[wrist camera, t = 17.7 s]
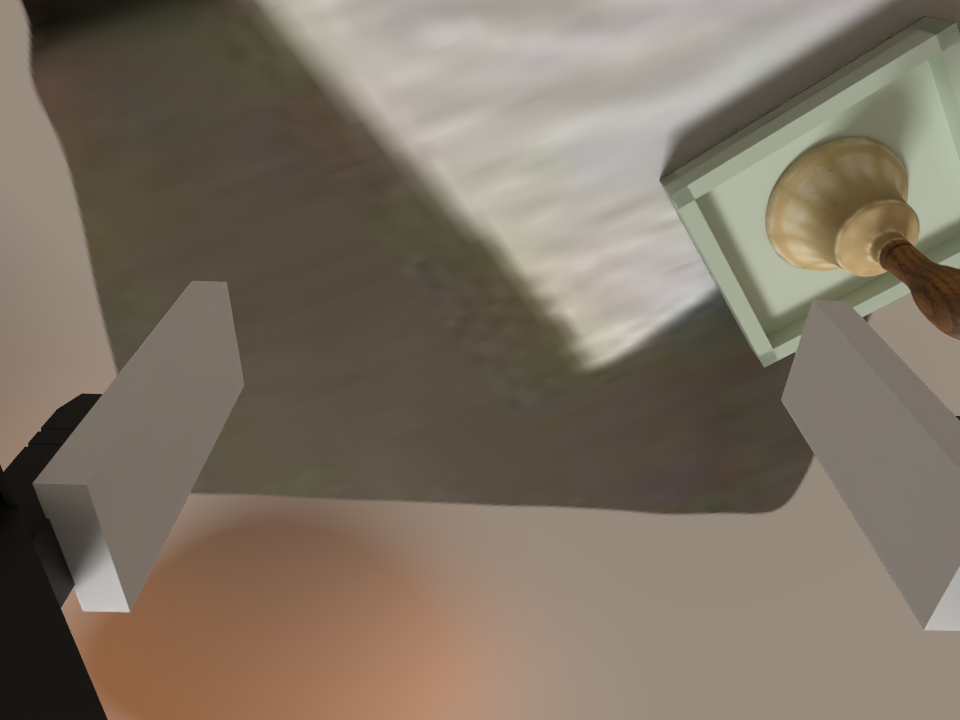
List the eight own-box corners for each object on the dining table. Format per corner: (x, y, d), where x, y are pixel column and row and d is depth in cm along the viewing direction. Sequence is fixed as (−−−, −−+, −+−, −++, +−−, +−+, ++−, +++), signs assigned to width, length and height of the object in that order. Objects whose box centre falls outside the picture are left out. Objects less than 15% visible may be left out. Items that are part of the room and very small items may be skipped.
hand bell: (823, 293, 46) (978, 449, 32) (736, 219, 43) (864, 355, 29) (934, 192, 42) (1159, 317, 29) (847, 105, 40) (1050, 198, 26)
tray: (925, 16, 39) (956, 22, 36) (987, 220, 45) (1017, 237, 42) (659, 180, 43) (671, 195, 40) (749, 345, 49) (764, 367, 47)
